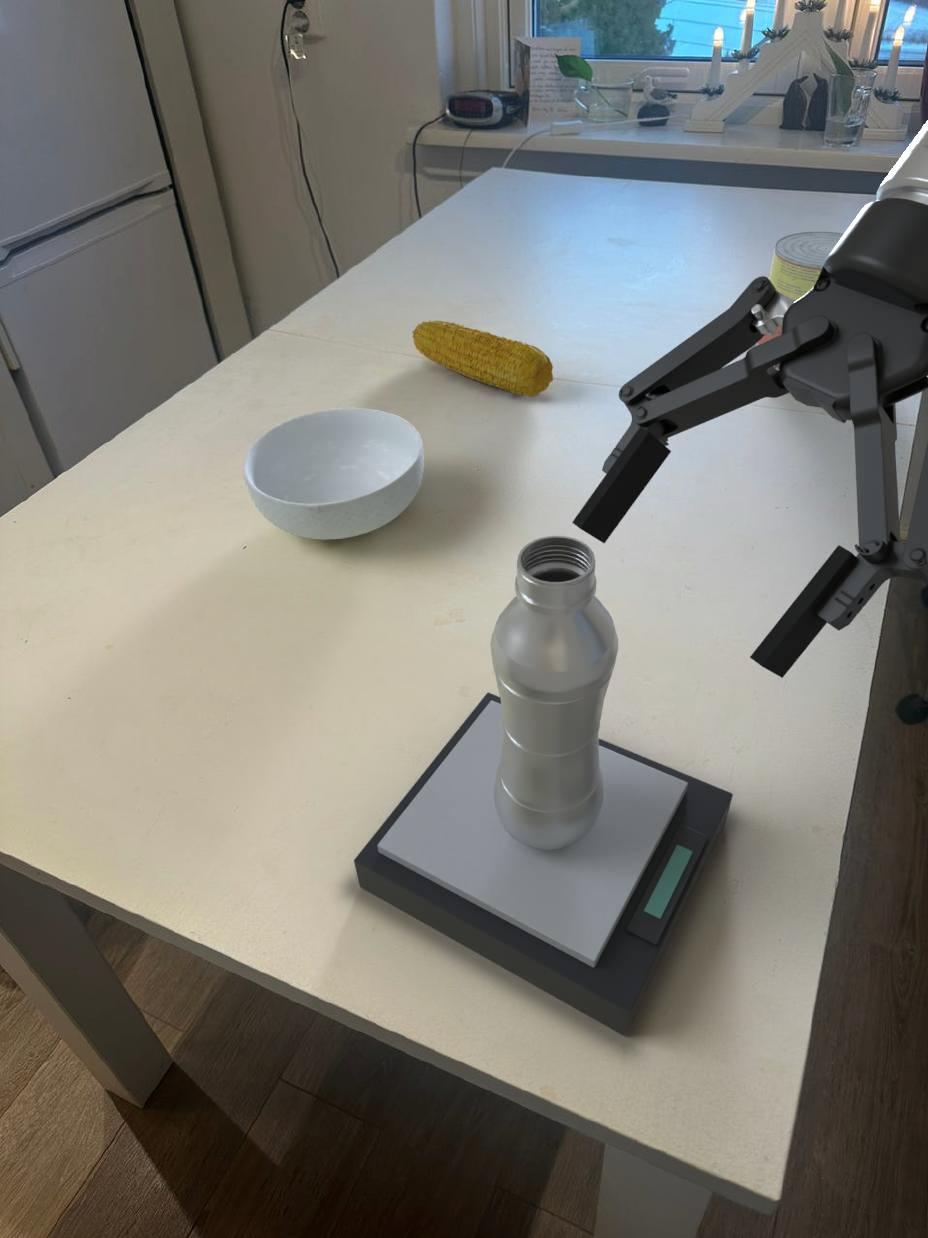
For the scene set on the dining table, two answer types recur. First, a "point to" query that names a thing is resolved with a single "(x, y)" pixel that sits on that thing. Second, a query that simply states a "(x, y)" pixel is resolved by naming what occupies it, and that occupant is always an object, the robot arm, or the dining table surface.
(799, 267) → the canned food
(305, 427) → the cereal bowl
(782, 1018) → the dining table surface
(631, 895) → the scale
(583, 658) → the silver aluminium bottle
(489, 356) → the food
